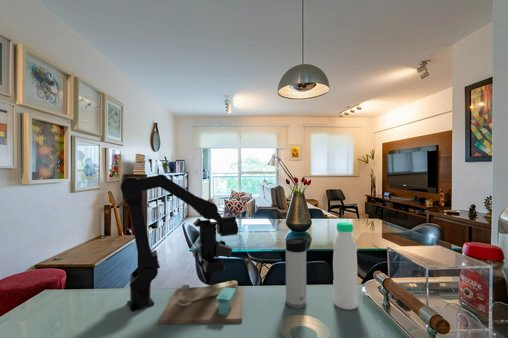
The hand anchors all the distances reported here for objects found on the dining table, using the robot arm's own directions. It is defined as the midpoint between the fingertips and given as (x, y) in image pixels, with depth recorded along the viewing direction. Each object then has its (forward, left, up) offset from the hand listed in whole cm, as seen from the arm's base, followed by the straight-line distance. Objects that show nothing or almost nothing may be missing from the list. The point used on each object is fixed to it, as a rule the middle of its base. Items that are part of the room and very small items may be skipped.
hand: (207, 283), depth 87 cm
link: (+5, -2, -1) cm, 6 cm away
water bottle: (+35, +29, -3) cm, 45 cm away
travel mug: (+25, +18, -3) cm, 30 cm away
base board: (+8, -5, -2) cm, 9 cm away
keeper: (+10, -6, -1) cm, 12 cm away
